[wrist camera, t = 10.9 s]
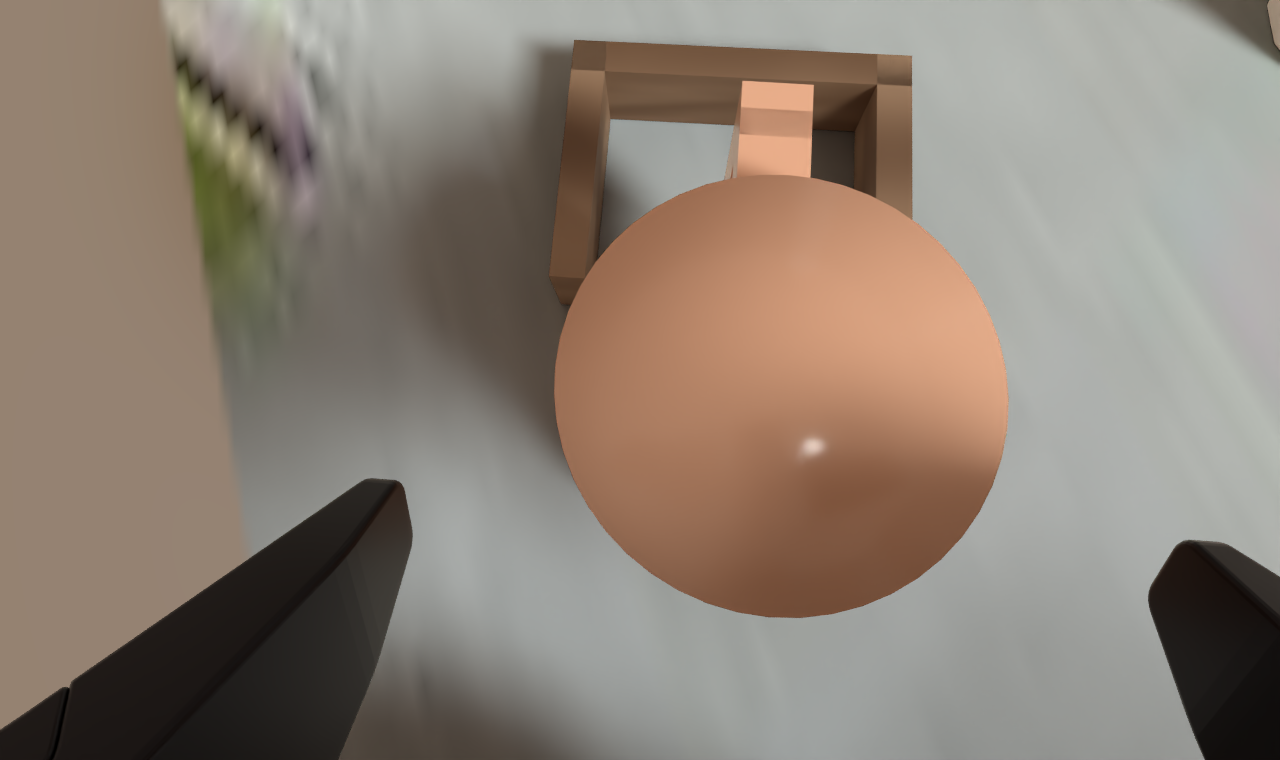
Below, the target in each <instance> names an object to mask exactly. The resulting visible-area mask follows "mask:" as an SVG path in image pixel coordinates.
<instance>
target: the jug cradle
mask: <svg viewBox="0 0 1280 760" xmlns="http://www.w3.org/2000/svg"><path fill="white" fill-rule="evenodd" d="M742 81H756V82H773V83H790V84H808V85H814V93H813V120H812V129H818V130H837V131H855V145H854V189H855V190H857V191H860V192H863V193H865V194H868V195H870V196H872V197H874V198H876V199H878V200H880V201H882V202H884V203H886V204H888V205H890V206H891V207H893V208H895V209H897V210H898V211H900V212H901V213H903V214H904V215H905V216H907V217H908V218H910V219H911V220H912V56H904V55H882V54H861V53H840V52H818V51H797V50H776V49H755V48H733V47H712V46H691V45H670V44H648V43H627V42H606V41H585V40H574V48H573V57H572V66H571V75H570V85H569V94H568V103H567V112H566V122H565V131H564V140H563V149H562V159H561V168H560V177H559V186H558V196H557V205H556V214H555V223H554V233H553V242H552V251H551V260H550V270H549V278H550V280H551V282H552V285H553V287H554V289H555V291H556V294H557V296H558V298H559V301H560V303H561V304H566V305H572V302H573V300H574V298H575V296H576V294H577V292H578V290H579V288H580V286H581V284H582V282H583V281H584V279H585V278H586V276H587V275H588V273H589V272H590V270H591V268H592V267H593V265H594V264H595V262H596V261H597V257H598V246H599V236H600V225H601V214H602V204H603V193H604V182H605V172H606V161H607V150H608V140H609V129H610V119H625V120H644V121H663V122H683V123H702V124H721V125H734V124H735V119H736V113H737V108H738V102H739V97H740V92H741V86H742Z"/></svg>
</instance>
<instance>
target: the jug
mask: <svg viewBox="0 0 1280 760" xmlns="http://www.w3.org/2000/svg"><path fill="white" fill-rule="evenodd" d="M813 93H814V85H808V84H790V83H773V82H756V81H742V86H741V92H740V97H739V102H738V108H737V113H736V119H735V124H734V129H733V135H732V140H731V145H730V151H729V156H728V161H727V167H726V172H725V178H724V180H723V181H719V182H715V183H711V184H706V185H704V186H701V187H698V188H696V189H693V190H690V191H688V192H685V193H682V194H680V195H678V196H676V197H674V198H672V199H670V200H668V201H667V202H665V203H663V204H661V205H659V206H657V207H655V208H654V209H653V210H651V211H650V212H648V213H647V214H645V215H644V216H643V217H641V218H640V219H638V220H637V221H635V222H634V223H633V224H632V225H631V226H629V227H628V228H627V229H626V230H625V231H624V232H623V233H622V234H621V235H620V236H618V237H617V238H616V239H615V240H614V241H613V242H612V243H611V245H610V246H609V247H608V248H607V249H606V250H605V252H604V253H603V254H602V255H601V256H600V257H599V259H598V260H597V261H596V262H595V264H594V265H593V267H592V268H591V270H590V272H589V273H588V275H587V276H586V278H585V279H584V281H583V282H582V284H581V286H580V288H579V290H578V292H577V294H576V296H575V298H574V300H573V302H572V305H571V307H570V309H569V311H568V314H567V317H566V321H565V324H564V327H563V330H562V333H561V336H560V341H559V347H558V352H557V358H556V364H555V383H554V399H555V409H556V420H557V426H558V430H559V435H560V439H561V444H562V448H563V452H564V455H565V457H566V460H567V463H568V465H569V468H570V471H571V473H572V476H573V479H574V481H575V483H576V485H577V486H578V488H579V490H580V492H581V494H582V496H583V498H584V500H585V502H586V503H587V505H588V507H589V508H590V510H591V511H592V512H593V514H594V515H595V517H596V518H597V519H598V521H599V522H600V524H601V525H602V526H603V528H604V529H605V531H606V532H607V533H608V534H609V535H610V536H611V537H612V538H613V539H614V540H615V541H616V542H617V544H618V545H619V546H620V547H621V548H622V549H623V550H624V551H625V552H626V553H627V554H628V555H629V556H630V557H632V558H633V559H634V560H635V561H637V562H638V563H639V564H640V565H641V566H643V567H644V568H645V569H646V570H648V571H649V572H650V573H651V574H653V575H654V576H656V577H658V578H659V579H661V580H662V581H664V582H666V583H667V584H669V585H671V586H672V587H674V588H675V589H677V590H679V591H681V592H683V593H686V594H688V595H690V596H692V597H694V598H697V599H699V600H701V601H703V602H706V603H708V604H712V605H715V606H718V607H722V608H725V609H728V610H732V611H735V612H739V613H746V614H752V615H758V616H765V617H787V618H803V617H811V616H820V615H828V614H834V613H838V612H842V611H846V610H849V609H853V608H857V607H861V606H864V605H866V604H869V603H871V602H873V601H876V600H878V599H881V598H883V597H885V596H888V595H890V594H892V593H894V592H895V591H897V590H899V589H901V588H902V587H904V586H906V585H907V584H909V583H911V582H912V581H914V580H916V579H917V578H919V577H920V576H921V575H922V574H924V573H925V572H926V571H927V570H929V569H930V568H931V567H932V566H934V565H935V564H936V563H937V562H938V561H940V560H941V559H942V558H943V557H944V556H945V555H946V554H947V553H948V551H949V550H950V549H951V548H952V547H953V546H954V545H955V544H956V543H957V542H958V541H959V540H960V539H961V537H962V536H963V535H964V533H965V532H966V530H967V529H968V528H969V526H970V525H971V523H972V522H973V520H974V519H975V517H976V516H977V515H978V513H979V512H980V510H981V508H982V506H983V504H984V502H985V499H986V497H987V495H988V493H989V491H990V489H991V487H992V485H993V482H994V479H995V476H996V473H997V470H998V467H999V464H1000V461H1001V458H1002V454H1003V449H1004V443H1005V438H1006V432H1007V422H1008V388H1007V377H1006V368H1005V364H1004V360H1003V355H1002V351H1001V346H1000V342H999V339H998V336H997V334H996V331H995V328H994V326H993V323H992V320H991V317H990V315H989V313H988V311H987V309H986V307H985V305H984V303H983V301H982V299H981V297H980V295H979V294H978V292H977V290H976V288H975V287H974V285H973V284H972V282H971V281H970V279H969V278H968V276H967V275H966V274H965V272H964V271H963V269H962V268H961V266H960V265H959V264H958V263H957V262H956V260H955V259H954V258H953V257H952V256H951V255H950V254H949V253H948V252H947V250H946V249H945V248H944V247H943V246H942V245H941V244H940V243H939V242H938V241H937V240H936V239H935V238H934V237H932V236H931V235H930V234H929V233H928V232H927V231H925V230H924V229H923V228H922V227H921V226H920V225H919V224H917V223H916V222H914V221H913V220H911V219H910V218H908V217H907V216H905V215H904V214H903V213H901V212H900V211H898V210H897V209H895V208H893V207H891V206H890V205H888V204H886V203H884V202H882V201H880V200H878V199H876V198H874V197H872V196H870V195H868V194H865V193H863V192H860V191H857V190H855V189H852V188H849V187H847V186H844V185H840V184H836V183H832V182H828V181H824V180H820V179H816V178H810V176H811V148H812V120H813Z"/></svg>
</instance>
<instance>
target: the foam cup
mask: <svg viewBox="0 0 1280 760" xmlns="http://www.w3.org/2000/svg"><path fill="white" fill-rule="evenodd" d="M1267 8H1268V13H1269V18H1270V23H1271V29H1272V34H1273V39H1274V43H1275V45H1276V46H1277V47H1278V48H1279V50H1280V0H1269V2H1268V4H1267Z"/></svg>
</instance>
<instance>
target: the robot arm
mask: <svg viewBox="0 0 1280 760" xmlns="http://www.w3.org/2000/svg"><path fill="white" fill-rule="evenodd" d="M412 538H413V533H412V525H411V520H410V515H409V510H408V505H407V500H406V495H405V490H404V487H403V485H402V484H401V483H400V482H399V481H396V480H388V479H374V478H370V479H365V480H363V481H361V482H360V483H358V484H357V485H355V486H354V487H352V488H351V489H349V490H348V491H347V492H345V493H344V494H342V495H341V496H339V497H338V498H336V499H335V500H333V501H332V502H331V503H329V504H328V505H326V506H325V507H323V508H322V509H320V510H319V511H318V512H316V513H315V514H313V515H312V516H310V517H309V518H307V519H306V520H304V521H303V522H302V523H300V524H299V525H297V526H296V527H294V528H293V529H291V530H290V531H289V532H287V533H286V534H284V535H283V536H281V537H280V538H278V539H277V540H276V541H274V542H273V543H271V544H270V545H268V546H267V547H265V548H264V549H262V550H261V551H260V552H258V553H257V554H255V555H254V556H252V557H251V558H249V559H248V560H247V561H245V562H244V563H242V564H241V565H239V566H238V567H236V568H235V569H234V570H232V571H231V572H229V573H228V574H226V575H225V576H223V577H222V578H221V579H219V580H218V581H216V582H215V583H213V584H212V585H210V586H209V587H208V588H206V589H205V590H203V591H202V592H200V593H199V594H197V595H196V596H194V597H193V598H191V599H190V600H189V601H187V602H186V603H184V604H183V605H181V606H180V607H178V608H177V609H176V610H174V611H173V612H171V613H170V614H168V615H167V616H165V617H164V618H162V619H161V620H160V621H158V622H157V623H155V624H154V625H153V626H151V627H149V628H148V629H147V630H145V631H144V632H142V633H141V634H140V635H138V636H136V637H135V638H134V639H132V640H131V641H129V642H128V643H126V644H125V645H124V646H122V647H120V648H119V649H118V650H116V651H115V652H113V653H112V654H110V655H109V656H108V657H106V658H105V659H103V660H102V661H100V662H99V663H97V664H96V665H94V666H93V667H91V668H90V669H89V670H87V671H86V672H84V673H83V674H82V675H80V676H78V677H77V678H76V679H74V680H73V681H72V682H71V684H70V688H68V687H63V688H61V689H59V690H58V691H56V692H55V693H54V694H52V695H50V696H49V697H48V698H46V699H45V700H43V701H42V702H40V703H39V704H37V705H36V706H35V707H33V708H32V709H30V710H29V711H27V712H26V713H24V714H23V715H21V716H20V717H19V718H17V719H16V720H14V721H13V722H11V723H10V724H8V725H7V726H5V727H4V728H2V729H1V730H0V760H338V759H339V756H340V754H341V751H342V749H343V747H344V744H345V742H346V739H347V737H348V735H349V732H350V730H351V727H352V725H353V723H354V720H355V718H356V715H357V713H358V711H359V708H360V706H361V703H362V701H363V699H364V696H365V694H366V691H367V689H368V687H369V684H370V681H371V679H372V676H373V674H374V671H375V668H376V666H377V662H378V659H379V656H380V653H381V650H382V647H383V643H384V640H385V636H386V633H387V630H388V626H389V623H390V619H391V616H392V612H393V609H394V606H395V602H396V599H397V595H398V592H399V588H400V585H401V582H402V578H403V575H404V571H405V568H406V564H407V561H408V557H409V554H410V550H411V546H412ZM1148 602H1149V608H1150V612H1151V615H1152V618H1153V621H1154V623H1155V626H1156V629H1157V632H1158V635H1159V638H1160V641H1161V643H1162V646H1163V649H1164V652H1165V655H1166V658H1167V661H1168V663H1169V666H1170V669H1171V672H1172V675H1173V678H1174V681H1175V683H1176V686H1177V689H1178V692H1179V695H1180V698H1181V701H1182V704H1183V706H1184V709H1185V712H1186V715H1187V718H1188V720H1189V723H1190V726H1191V728H1192V731H1193V733H1194V736H1195V739H1196V741H1197V743H1198V745H1199V748H1200V750H1201V752H1202V755H1203V757H1204V759H1205V760H1280V577H1279V576H1278V575H1276V574H1275V573H1273V572H1271V571H1270V570H1268V569H1267V568H1265V567H1263V566H1262V565H1260V564H1259V563H1257V562H1255V561H1254V560H1252V559H1250V558H1249V557H1247V556H1246V555H1244V554H1242V553H1241V552H1239V551H1238V550H1236V549H1234V548H1233V547H1231V546H1229V545H1227V544H1224V543H1221V542H1213V541H1200V540H1185V541H1182V542H1181V543H1179V544H1178V545H1176V546H1175V548H1174V549H1173V551H1172V552H1171V554H1170V556H1169V557H1168V559H1167V560H1166V562H1165V564H1164V565H1163V567H1162V568H1161V570H1160V572H1159V573H1158V575H1157V577H1156V578H1155V580H1154V581H1153V583H1152V585H1151V587H1150V590H1149V595H1148Z"/></svg>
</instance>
